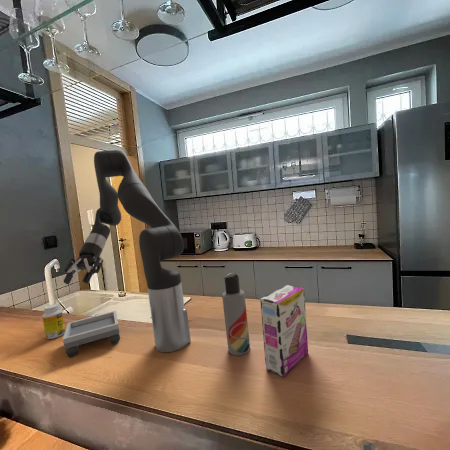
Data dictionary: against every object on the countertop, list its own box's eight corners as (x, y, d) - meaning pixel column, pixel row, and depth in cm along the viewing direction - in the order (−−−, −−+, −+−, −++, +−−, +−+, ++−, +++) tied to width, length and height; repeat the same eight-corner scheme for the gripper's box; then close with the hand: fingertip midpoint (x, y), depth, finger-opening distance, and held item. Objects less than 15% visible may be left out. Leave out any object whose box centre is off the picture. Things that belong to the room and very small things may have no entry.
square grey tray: (118, 327, 88) (115, 310, 87) (120, 342, 77) (118, 323, 76) (70, 340, 82) (67, 322, 81) (66, 359, 71) (62, 339, 70)
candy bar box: (284, 379, 54) (277, 303, 53) (265, 369, 58) (258, 298, 56) (310, 353, 62) (304, 286, 61) (291, 346, 66) (286, 283, 64)
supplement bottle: (61, 337, 85) (56, 307, 84) (42, 341, 83) (37, 310, 82) (68, 329, 90) (63, 301, 89) (50, 333, 89) (45, 304, 88)
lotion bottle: (249, 356, 63) (240, 276, 62) (226, 355, 65) (217, 277, 63) (251, 343, 69) (243, 270, 67) (230, 343, 70) (222, 271, 68)
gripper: (72, 242, 105) (52, 279, 95) (102, 240, 101) (84, 277, 91) (84, 252, 111) (66, 288, 100) (113, 250, 107) (97, 287, 97)
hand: (75, 283), depth 96 cm, fingers open, 8 cm apart
